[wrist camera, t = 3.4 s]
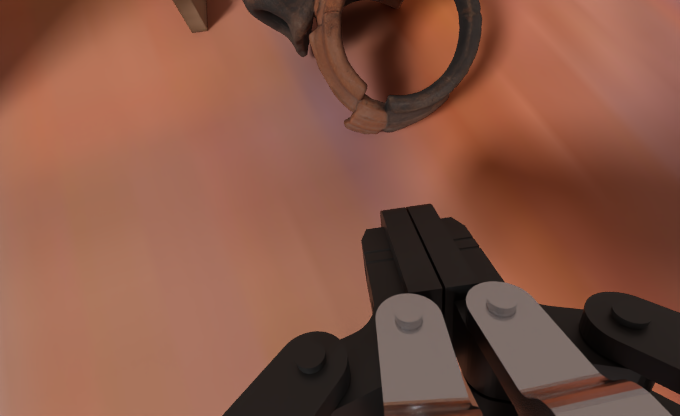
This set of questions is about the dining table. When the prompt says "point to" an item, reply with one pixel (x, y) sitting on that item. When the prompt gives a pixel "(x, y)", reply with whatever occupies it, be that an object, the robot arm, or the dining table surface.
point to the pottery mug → (368, 114)
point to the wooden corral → (193, 13)
